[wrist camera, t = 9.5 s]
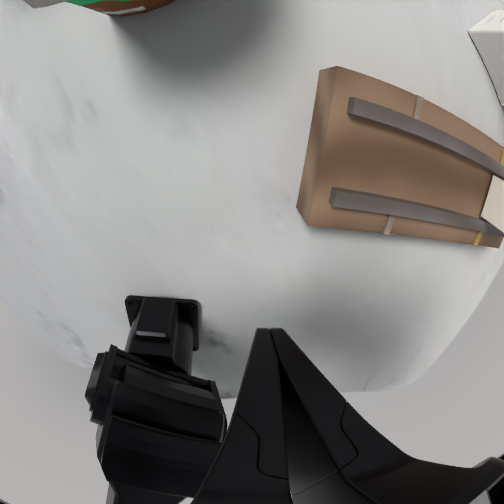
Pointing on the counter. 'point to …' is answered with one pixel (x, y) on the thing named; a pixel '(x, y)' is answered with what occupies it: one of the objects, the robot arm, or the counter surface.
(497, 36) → the tall white carton
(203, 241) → the counter surface
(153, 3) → the food container
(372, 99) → the slider track
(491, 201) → the slider tab
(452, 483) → the robot arm
